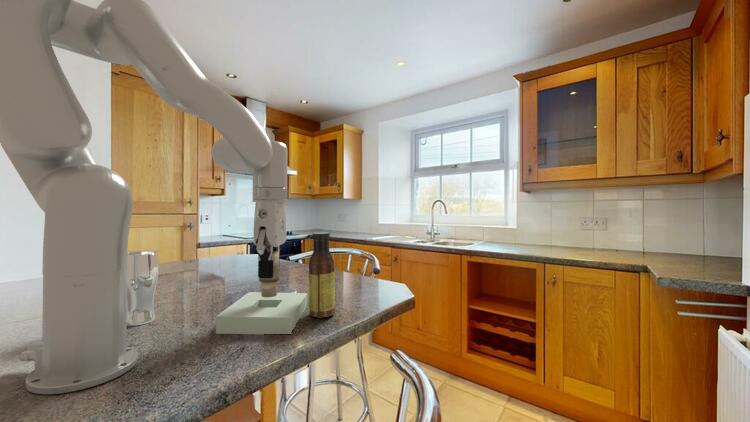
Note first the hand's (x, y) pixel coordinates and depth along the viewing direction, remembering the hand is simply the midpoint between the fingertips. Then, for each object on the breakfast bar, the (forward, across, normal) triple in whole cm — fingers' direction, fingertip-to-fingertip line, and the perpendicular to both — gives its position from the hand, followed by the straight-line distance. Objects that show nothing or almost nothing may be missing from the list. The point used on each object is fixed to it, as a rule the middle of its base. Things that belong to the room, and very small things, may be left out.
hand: (269, 274), depth 73 cm
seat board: (+10, 0, 0) cm, 10 cm away
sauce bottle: (+10, +3, -12) cm, 16 cm away
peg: (+5, 0, 0) cm, 5 cm away
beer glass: (+10, -3, +27) cm, 29 cm away
